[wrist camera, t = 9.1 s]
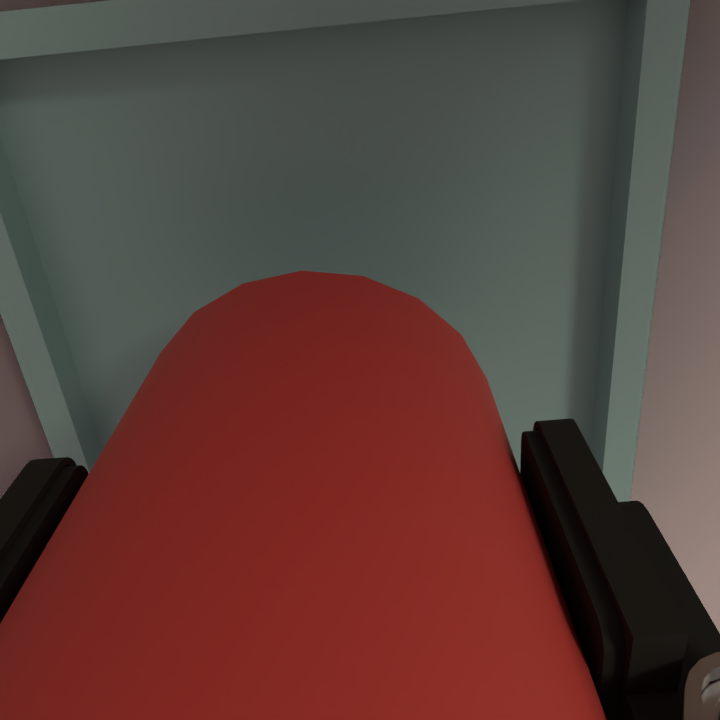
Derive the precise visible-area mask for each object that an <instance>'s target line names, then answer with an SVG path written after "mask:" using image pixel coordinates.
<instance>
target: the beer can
mask: <svg viewBox="0 0 720 720" xmlns="http://www.w3.org/2000/svg"><path fill="white" fill-rule="evenodd" d="M0 720H606V717H605V714H604V711H603V708H602V705H601V702H600V700H599V697H598V694H597V691H596V688H595V685H594V682H593V680H592V677H591V674H590V671H589V668H588V665H587V663H586V660H585V657H584V654H583V651H582V648H581V645H580V643H579V640H578V637H577V634H576V631H575V628H574V625H573V623H572V620H571V617H570V614H569V611H568V608H567V605H566V603H565V600H564V597H563V594H562V591H561V588H560V586H559V583H558V580H557V577H556V574H555V571H554V568H553V566H552V563H551V560H550V557H549V554H548V551H547V548H546V546H545V543H544V540H543V537H542V534H541V531H540V528H539V526H538V523H537V520H536V517H535V514H534V511H533V508H532V506H531V503H530V500H529V497H528V494H527V491H526V489H525V486H524V483H523V480H522V477H521V474H520V471H519V469H518V466H517V463H516V460H515V457H514V454H513V451H512V449H511V446H510V443H509V440H508V437H507V434H506V431H505V429H504V426H503V423H502V420H501V417H500V414H499V412H498V409H497V406H496V403H495V400H494V397H493V394H492V392H491V389H490V386H489V383H488V380H487V378H486V376H485V374H484V373H483V371H482V369H481V367H480V366H479V364H478V362H477V361H476V359H475V357H474V355H473V354H472V352H471V350H470V349H469V347H468V345H467V343H466V342H465V340H464V338H463V337H462V335H461V334H460V333H459V332H458V331H457V330H455V329H454V328H453V327H452V326H451V325H450V324H448V323H447V322H446V321H445V320H444V319H442V318H441V317H440V316H439V315H438V314H437V313H435V312H434V311H433V310H432V309H431V308H429V307H428V306H427V305H426V304H425V303H424V302H422V301H421V300H420V299H419V298H417V297H414V296H412V295H409V294H407V293H404V292H402V291H399V290H397V289H394V288H392V287H389V286H387V285H384V284H382V283H380V282H377V281H375V280H372V279H370V278H367V277H365V276H359V275H348V274H336V273H324V272H313V271H297V272H293V273H288V274H284V275H279V276H274V277H270V278H265V279H261V280H256V281H252V282H247V283H243V284H241V285H239V286H238V287H236V288H234V289H232V290H231V291H229V292H227V293H226V294H224V295H222V296H221V297H219V298H217V299H215V300H214V301H212V302H210V303H209V304H207V305H205V306H204V307H202V308H200V309H199V310H197V311H195V312H194V313H193V314H192V315H191V316H190V318H189V319H188V320H187V321H186V322H185V324H184V325H183V326H182V327H181V328H180V330H179V331H178V332H177V333H176V334H175V336H174V337H173V338H172V339H171V341H170V342H169V343H168V344H167V345H166V347H165V348H164V349H163V350H162V351H161V353H160V354H159V356H158V358H157V359H156V361H155V363H154V365H153V366H152V368H151V370H150V371H149V373H148V375H147V376H146V378H145V380H144V381H143V383H142V385H141V387H140V388H139V390H138V392H137V393H136V395H135V397H134V398H133V400H132V402H131V403H130V405H129V407H128V409H127V410H126V412H125V414H124V415H123V417H122V419H121V420H120V422H119V424H118V425H117V427H116V429H115V430H114V432H113V434H112V436H111V437H110V439H109V441H108V442H107V444H106V446H105V447H104V449H103V451H102V452H101V454H100V456H99V458H98V459H97V461H96V463H95V464H94V466H93V468H92V469H91V471H90V473H89V474H88V476H87V478H86V480H85V481H84V483H83V485H82V486H81V488H80V490H79V491H78V493H77V495H76V496H75V498H74V500H73V502H72V503H71V505H70V507H69V508H68V510H67V512H66V513H65V515H64V517H63V518H62V520H61V522H60V524H59V525H58V527H57V529H56V530H55V532H54V534H53V535H52V537H51V539H50V540H49V542H48V544H47V545H46V547H45V549H44V551H43V552H42V554H41V556H40V557H39V559H38V561H37V562H36V564H35V566H34V567H33V569H32V571H31V573H30V574H29V576H28V578H27V579H26V581H25V583H24V584H23V586H22V588H21V589H20V591H19V593H18V595H17V596H16V598H15V600H14V601H13V603H12V605H11V606H10V608H9V610H8V611H7V613H6V615H5V617H4V618H3V620H2V622H1V623H0Z"/></svg>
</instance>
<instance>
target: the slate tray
mask: <svg viewBox="0 0 720 720" xmlns="http://www.w3.org/2000/svg"><path fill="white" fill-rule="evenodd" d="M690 1H691V0H106V1H97V2H87V3H78V4H68V5H59V6H49V7H40V8H30V9H21V10H11V11H2V12H0V314H1V317H2V319H3V322H4V325H5V327H6V330H7V333H8V336H9V338H10V341H11V344H12V346H13V349H14V352H15V354H16V357H17V360H18V363H19V365H20V368H21V371H22V373H23V376H24V379H25V381H26V384H27V387H28V390H29V392H30V395H31V398H32V400H33V403H34V406H35V409H36V411H37V414H38V417H39V419H40V422H41V425H42V427H43V430H44V433H45V436H46V438H47V441H48V444H49V446H50V449H51V452H52V454H53V457H54V458H62V457H69V458H72V459H73V460H74V461H75V463H76V465H82V466H84V467H85V468H86V469H87V471H88V474H89V473H90V471H91V469H92V468H93V466H94V464H95V463H96V461H97V459H98V458H99V456H100V454H101V452H102V451H103V449H104V447H105V446H106V444H107V442H108V441H109V439H110V437H111V436H112V434H113V432H114V430H115V429H116V427H117V425H118V424H119V422H120V420H121V419H122V417H123V415H124V414H125V412H126V410H127V409H128V407H129V405H130V403H131V402H132V400H133V398H134V397H135V395H136V393H137V392H138V390H139V388H140V387H141V385H142V383H143V381H144V380H145V378H146V376H147V375H148V373H149V371H150V370H151V368H152V366H153V365H154V363H155V361H156V359H157V358H158V356H159V354H160V353H161V351H162V350H163V349H164V348H165V347H166V345H167V344H168V343H169V342H170V341H171V339H172V338H173V337H174V336H175V334H176V333H177V332H178V331H179V330H180V328H181V327H182V326H183V325H184V324H185V322H186V321H187V320H188V319H189V318H190V316H191V315H192V314H193V313H194V312H195V311H197V310H199V309H200V308H202V307H204V306H205V305H207V304H209V303H210V302H212V301H214V300H215V299H217V298H219V297H221V296H222V295H224V294H226V293H227V292H229V291H231V290H232V289H234V288H236V287H238V286H239V285H241V284H243V283H247V282H252V281H256V280H261V279H265V278H270V277H274V276H279V275H284V274H288V273H293V272H297V271H313V272H324V273H336V274H348V275H359V276H365V277H367V278H370V279H372V280H375V281H377V282H380V283H382V284H384V285H387V286H389V287H392V288H394V289H397V290H399V291H402V292H404V293H407V294H409V295H412V296H414V297H417V298H419V299H420V300H421V301H422V302H424V303H425V304H426V305H427V306H428V307H429V308H431V309H432V310H433V311H434V312H435V313H437V314H438V315H439V316H440V317H441V318H442V319H444V320H445V321H446V322H447V323H448V324H450V325H451V326H452V327H453V328H454V329H455V330H457V331H458V332H459V333H460V334H461V335H462V337H463V338H464V340H465V342H466V343H467V345H468V347H469V349H470V350H471V352H472V354H473V355H474V357H475V359H476V361H477V362H478V364H479V366H480V367H481V369H482V371H483V373H484V374H485V376H486V378H487V380H488V383H489V386H490V389H491V392H492V394H493V397H494V400H495V403H496V406H497V409H498V412H499V414H500V417H501V420H502V423H503V426H504V429H505V431H506V434H507V437H508V440H509V443H510V446H511V449H512V451H513V454H514V457H515V460H516V463H517V466H518V469H519V471H520V461H521V435H522V432H523V431H533V426H534V423H535V422H536V421H544V420H557V419H570V418H571V419H574V421H575V422H576V424H577V425H578V427H579V429H580V431H581V433H582V435H583V437H584V439H585V441H586V442H587V444H588V446H589V448H590V450H591V452H592V454H593V456H594V457H595V459H596V461H597V463H598V465H599V467H600V469H601V471H602V473H603V474H604V476H605V478H606V480H607V482H608V484H609V486H610V488H611V489H612V491H613V493H614V495H615V497H616V499H617V501H618V502H625V501H630V496H631V488H632V480H633V471H634V463H635V455H636V447H637V438H638V430H639V422H640V414H641V405H642V397H643V389H644V381H645V372H646V364H647V356H648V347H649V339H650V331H651V323H652V314H653V306H654V298H655V290H656V281H657V273H658V265H659V257H660V248H661V240H662V232H663V224H664V215H665V207H666V199H667V191H668V182H669V174H670V166H671V158H672V149H673V141H674V133H675V125H676V116H677V108H678V100H679V91H680V83H681V75H682V67H683V58H684V50H685V42H686V34H687V25H688V17H689V9H690Z"/></svg>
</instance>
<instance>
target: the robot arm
mask: <svg viewBox="0 0 720 720" xmlns="http://www.w3.org/2000/svg"><path fill="white" fill-rule="evenodd" d="M520 474H521V477H522V480H523V483H524V486H525V489H526V491H527V494H528V497H529V500H530V503H531V506H532V508H533V511H534V514H535V517H536V520H537V523H538V526H539V528H540V531H541V534H542V537H543V540H544V543H545V546H546V548H547V551H548V554H549V557H550V560H551V563H552V566H553V568H554V571H555V574H556V577H557V580H558V583H559V586H560V588H561V591H562V594H563V597H564V600H565V603H566V605H567V608H568V611H569V614H570V617H571V620H572V623H573V625H574V628H575V631H576V634H577V637H578V640H579V643H580V645H581V648H582V651H583V654H584V657H585V660H586V663H587V665H588V668H589V671H590V674H591V677H592V680H593V682H594V685H595V688H596V691H597V694H598V697H599V700H600V702H601V705H602V708H603V711H604V714H605V717H606V720H720V634H719V632H718V630H717V628H716V627H715V625H714V623H713V622H712V620H711V618H710V616H709V615H708V613H707V611H706V610H705V608H704V606H703V604H702V603H701V601H700V599H699V597H698V596H697V594H696V592H695V591H694V589H693V587H692V585H691V584H690V582H689V580H688V579H687V577H686V575H685V573H684V572H683V570H682V568H681V567H680V565H679V563H678V561H677V560H676V558H675V556H674V555H673V553H672V551H671V549H670V548H669V546H668V544H667V543H666V541H665V539H664V537H663V536H662V534H661V532H660V531H659V529H658V527H657V525H656V524H655V522H654V520H653V519H652V517H651V515H650V513H649V512H648V510H647V509H646V507H645V506H644V505H643V504H642V503H641V502H639V501H625V502H618V501H617V499H616V497H615V495H614V493H613V491H612V489H611V488H610V486H609V484H608V482H607V480H606V478H605V476H604V474H603V473H602V471H601V469H600V467H599V465H598V463H597V461H596V459H595V457H594V456H593V454H592V452H591V450H590V448H589V446H588V444H587V442H586V441H585V439H584V437H583V435H582V433H581V431H580V429H579V427H578V425H577V424H576V422H575V421H574V419H571V418H570V419H557V420H544V421H536V422H535V423H534V426H533V431H523V432H522V435H521V461H520ZM87 476H88V471H87V469H86V468H85V467H84V466H82V465H76V463H75V461H74V460H73V459H72V458H69V457H62V458H49V459H36V460H32V461H30V462H29V463H28V464H26V466H25V467H24V468H23V470H22V471H21V472H20V474H19V475H18V476H17V478H16V479H15V480H14V482H13V483H12V485H11V486H10V487H9V489H8V490H7V491H6V493H5V494H4V495H3V497H2V498H1V499H0V623H1V622H2V620H3V618H4V617H5V615H6V613H7V611H8V610H9V608H10V606H11V605H12V603H13V601H14V600H15V598H16V596H17V595H18V593H19V591H20V589H21V588H22V586H23V584H24V583H25V581H26V579H27V578H28V576H29V574H30V573H31V571H32V569H33V567H34V566H35V564H36V562H37V561H38V559H39V557H40V556H41V554H42V552H43V551H44V549H45V547H46V545H47V544H48V542H49V540H50V539H51V537H52V535H53V534H54V532H55V530H56V529H57V527H58V525H59V524H60V522H61V520H62V518H63V517H64V515H65V513H66V512H67V510H68V508H69V507H70V505H71V503H72V502H73V500H74V498H75V496H76V495H77V493H78V491H79V490H80V488H81V486H82V485H83V483H84V481H85V480H86V478H87Z"/></svg>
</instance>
